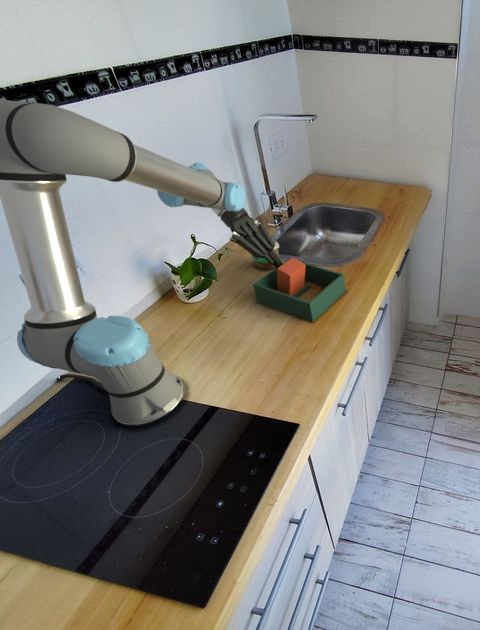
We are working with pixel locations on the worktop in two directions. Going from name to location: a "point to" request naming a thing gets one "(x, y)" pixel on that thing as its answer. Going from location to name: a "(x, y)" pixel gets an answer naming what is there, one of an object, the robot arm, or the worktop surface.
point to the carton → (291, 277)
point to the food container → (262, 263)
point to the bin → (296, 306)
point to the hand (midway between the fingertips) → (282, 269)
